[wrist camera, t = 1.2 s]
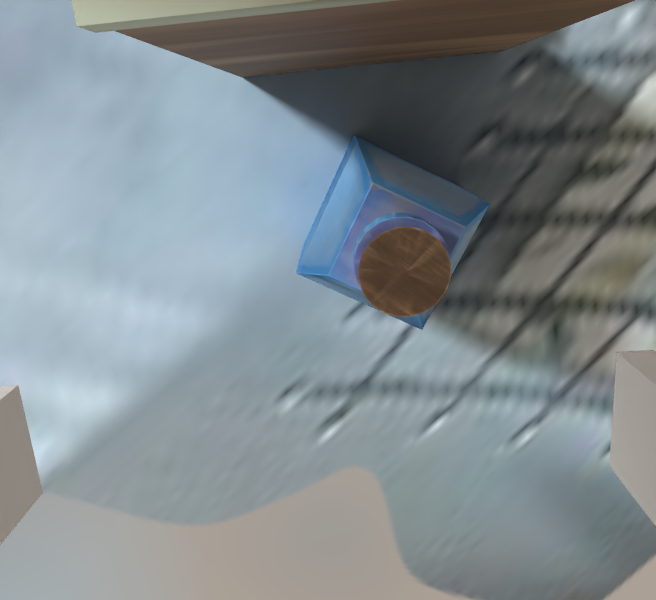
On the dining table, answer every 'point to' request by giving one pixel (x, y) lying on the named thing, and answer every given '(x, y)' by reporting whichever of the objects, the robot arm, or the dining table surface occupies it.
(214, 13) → the wooden l-shaped stand
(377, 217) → the perfume bottle
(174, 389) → the dining table surface
